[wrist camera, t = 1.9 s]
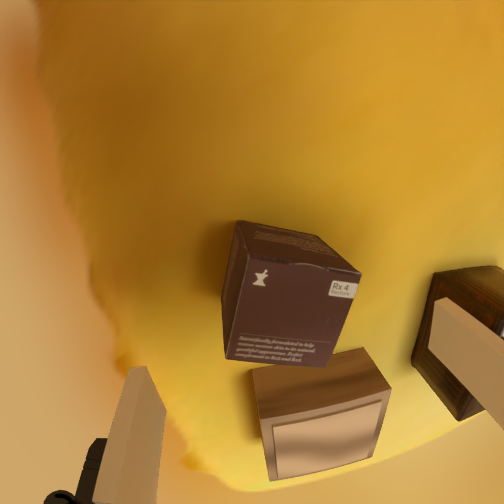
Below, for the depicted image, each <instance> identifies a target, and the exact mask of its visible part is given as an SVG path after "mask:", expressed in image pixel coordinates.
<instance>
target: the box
mask: <svg viewBox="0 0 504 504" xmlns="http://www.w3.org/2000/svg"><path fill="white" fill-rule="evenodd" d="M361 275H362V274H361V273H360V272H359V271H357V270H356V269H355V268H354V267H353V266H352V265H351V264H349V263H348V262H347V261H346V260H345V259H343V258H342V257H341V256H340V255H339V254H338V253H337V252H336V251H334V250H333V249H332V248H331V247H329V246H328V245H327V244H326V243H325V242H324V241H322V240H321V239H320V238H319V237H318V236H316V235H311V234H306V233H301V232H296V231H291V230H286V229H282V228H276V227H271V226H265V225H261V224H255V223H250V222H245V221H238V222H237V223H236V227H235V232H234V237H233V241H232V246H231V251H230V256H229V261H228V266H227V270H226V275H225V281H224V286H223V291H222V296H221V303H222V321H223V339H224V351H225V358H226V359H228V360H237V361H246V362H255V363H266V364H278V365H291V366H305V367H327V365H328V362H329V360H330V358H331V355H332V353H333V350H334V348H335V346H336V343H337V341H338V338H339V336H340V333H341V330H342V328H343V325H344V323H345V320H346V317H347V315H348V312H349V310H350V307H351V304H352V302H353V299H354V297H355V294H356V291H357V288H358V284H359V281H360V278H361Z"/></svg>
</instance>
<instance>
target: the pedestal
mask: <svg viewBox="0 0 504 504" xmlns="http://www.w3.org/2000/svg"><path fill="white" fill-rule="evenodd" d="M252 376H253V383H254V390H255V397H256V404H257V410H258V417H259V424H260V430H261V437H262V443H263V448H264V454H265V459H266V465H267V470H268V476H269V481H276V480H282V479H288V478H293V477H298V476H303V475H308V474H312V473H317V472H321V471H325V470H329V469H333V468H337V467H340V466H344V465H347V464H351V463H354V462H358V461H361V460H364V459H367V458H370V457H372V455H373V452H374V449H375V446H376V443H377V440H378V437H379V434H380V430H381V427H382V423H383V420H384V416H385V413H386V409H387V405H388V401H389V398H390V394H391V389H392V388H391V387H390V385H389V384H388V382H387V381H386V379H385V378H384V376H383V375H382V374H381V372H380V371H379V369H378V368H377V366H376V365H375V363H374V362H373V360H372V359H371V357H370V356H369V355H368V353H367V352H366V350H365V349H364V347H362V348H358V349H354V350H350V351H345V352H341V353H336V354H332V355H331V358H330V360H329V362H328V365H327V367H305V366H291V365H274V366H267V367H261V368H254V369H252Z"/></svg>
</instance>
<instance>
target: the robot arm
mask: <svg viewBox="0 0 504 504" xmlns="http://www.w3.org/2000/svg"><path fill="white" fill-rule="evenodd" d="M428 348H429V349H430V351H431V352H432V353H433V354H434V355H435V356H436V357H437V358H438V359H439V360H440V361H441V362H442V363H443V364H444V365H445V366H446V367H447V368H448V369H449V370H450V371H451V372H452V373H453V374H454V376H455V377H456V378H457V379H458V380H459V381H460V382H461V383H462V384H463V385H464V386H465V387H466V388H467V389H468V391H469V392H470V393H471V394H472V395H473V396H474V397H475V398H476V399H477V400H478V402H479V403H480V404H481V405H482V406H483V407H484V408H485V409H486V410H487V412H488V413H489V414H490V415H491V416H492V417H493V418H494V419H495V421H496V422H497V423H498V424H499V425H500V426H501V427H502V428H503V430H504V337H503V336H502V337H499V336H498V335H496V334H495V333H494V332H492V331H491V330H490V329H489V328H487V327H486V326H485V325H483V324H482V323H481V322H479V321H478V320H477V319H475V318H474V317H473V316H471V315H470V314H469V313H467V312H466V311H465V310H463V309H462V308H461V307H459V306H458V305H457V304H455V303H454V302H452V301H451V300H450V299H448V298H447V297H445V298H443V299H440V300H437V301H435V304H434V312H433V319H432V327H431V333H430V339H429V345H428ZM165 417H166V408H165V406H164V404H163V402H162V400H161V398H160V396H159V394H158V392H157V390H156V387H155V385H154V383H153V381H152V379H151V376H150V374H149V372H148V369H147V367H146V366H143V367H133V368H130V369H129V372H128V375H127V378H126V381H125V384H124V387H123V390H122V393H121V396H120V400H119V403H118V406H117V409H116V412H115V416H114V419H113V422H112V426H111V429H110V433H109V436H108V438H97V439H96V440H95V441H94V442H93V444H92V445H91V446H90V448H89V450H88V453H87V456H86V461H85V463H84V466H83V470H82V473H81V476H80V480H79V483H78V487H77V491H76V495H75V496H74V495H73V494H72V493H70V492H68V491H64V490H58V491H55V492H52V493H51V494H49V495H48V496H47V498H46V499H45V500H44V504H156V498H157V488H158V477H159V467H160V458H161V449H162V440H163V432H164V425H165Z"/></svg>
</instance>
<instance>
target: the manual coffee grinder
mask: <svg viewBox="0 0 504 504" xmlns="http://www.w3.org/2000/svg"><path fill="white" fill-rule="evenodd" d="M445 297H447V298H448V299H450V300H451V301H452V302H454V303H455V304H457V305H458V306H459V307H461V308H462V309H463V310H465V311H466V312H467V313H469V314H470V315H471V316H473V317H474V318H475V319H477V320H478V321H479V322H481V323H482V324H483V325H485V326H486V327H487V328H489V329H490V330H491V331H492V332H494V333H495V334H496V335H498V336H499V337H502V336H503V337H504V270H503V269H501V268H500V267H494V266H480V267H470V268H462V269H457V270H450V271H444V272H438V273H434V277H433V280H432V284H431V287H430V291H429V294H428V298H427V303H426V307H425V311H424V315H423V318H422V322H421V326H420V329H419V333H418V337H417V340H416V343H415V347H414V350H413V354H412V357H411V359H412V366H413V367H414V368H416V369H417V371H418V372H419V373H420V374H421V376H422V377H423V378H424V379H425V381H426V382H427V383H428V384H429V386H430V387H431V388H432V390H433V391H434V392H435V393H436V395H437V396H438V397H439V398H440V400H441V401H442V402H443V404H444V405H445V406H446V407H447V409H448V410H449V411H450V413H451V414H452V415H453V416H454V418H455V419H456V420H457V421H459V422H460V421H462V420H464V419H466V418H469V417H471V416H473V415H475V414H477V413H479V412H481V411H483V410H486V409H485V408H484V407H483V406H482V405H481V404H480V403H479V402H478V400H477V399H476V398H475V397H474V396H473V395H472V394H471V393H470V392H469V391H468V389H467V388H466V387H465V386H464V385H463V384H462V383H461V382H460V381H459V380H458V379H457V378H456V377H455V376H454V374H453V373H452V372H451V371H450V370H449V369H448V368H447V367H446V366H445V365H444V364H443V363H442V362H441V361H440V360H439V359H438V358H437V357H436V356H435V355H434V354H433V353H432V352H431V351H430V349H429V348H428V345H429V339H430V333H431V327H432V319H433V312H434V304H435V301H437V300H440V299H443V298H445Z"/></svg>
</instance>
